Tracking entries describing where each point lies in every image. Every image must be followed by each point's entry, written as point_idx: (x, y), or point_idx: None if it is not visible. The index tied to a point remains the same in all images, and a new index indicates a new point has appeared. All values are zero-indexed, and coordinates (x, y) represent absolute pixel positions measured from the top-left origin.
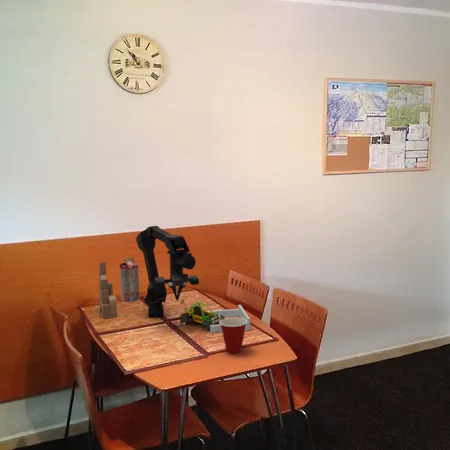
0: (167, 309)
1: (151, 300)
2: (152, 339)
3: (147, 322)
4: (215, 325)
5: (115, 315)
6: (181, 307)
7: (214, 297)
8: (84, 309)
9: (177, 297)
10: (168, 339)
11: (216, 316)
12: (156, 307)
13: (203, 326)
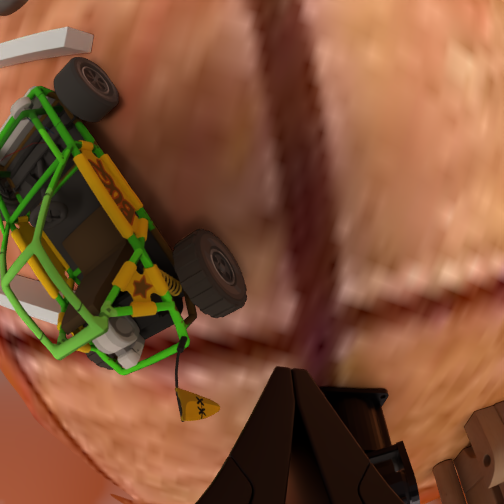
0: None
1: (406, 464)
2: (484, 71)
3: (421, 341)
4: (37, 38)
5: (481, 414)
6: (195, 444)
7: (72, 450)
8: None
9: (291, 398)
10: (401, 15)
11: (30, 282)
12: (357, 434)
13: (106, 93)
